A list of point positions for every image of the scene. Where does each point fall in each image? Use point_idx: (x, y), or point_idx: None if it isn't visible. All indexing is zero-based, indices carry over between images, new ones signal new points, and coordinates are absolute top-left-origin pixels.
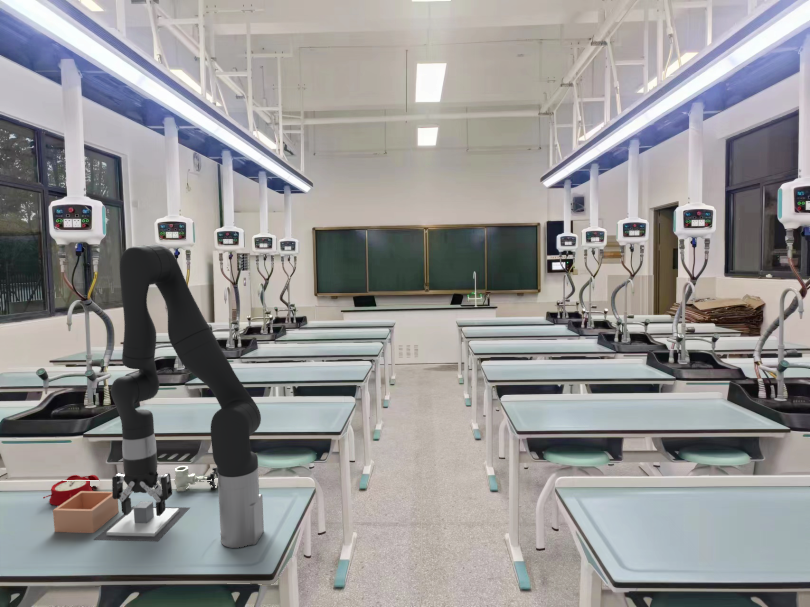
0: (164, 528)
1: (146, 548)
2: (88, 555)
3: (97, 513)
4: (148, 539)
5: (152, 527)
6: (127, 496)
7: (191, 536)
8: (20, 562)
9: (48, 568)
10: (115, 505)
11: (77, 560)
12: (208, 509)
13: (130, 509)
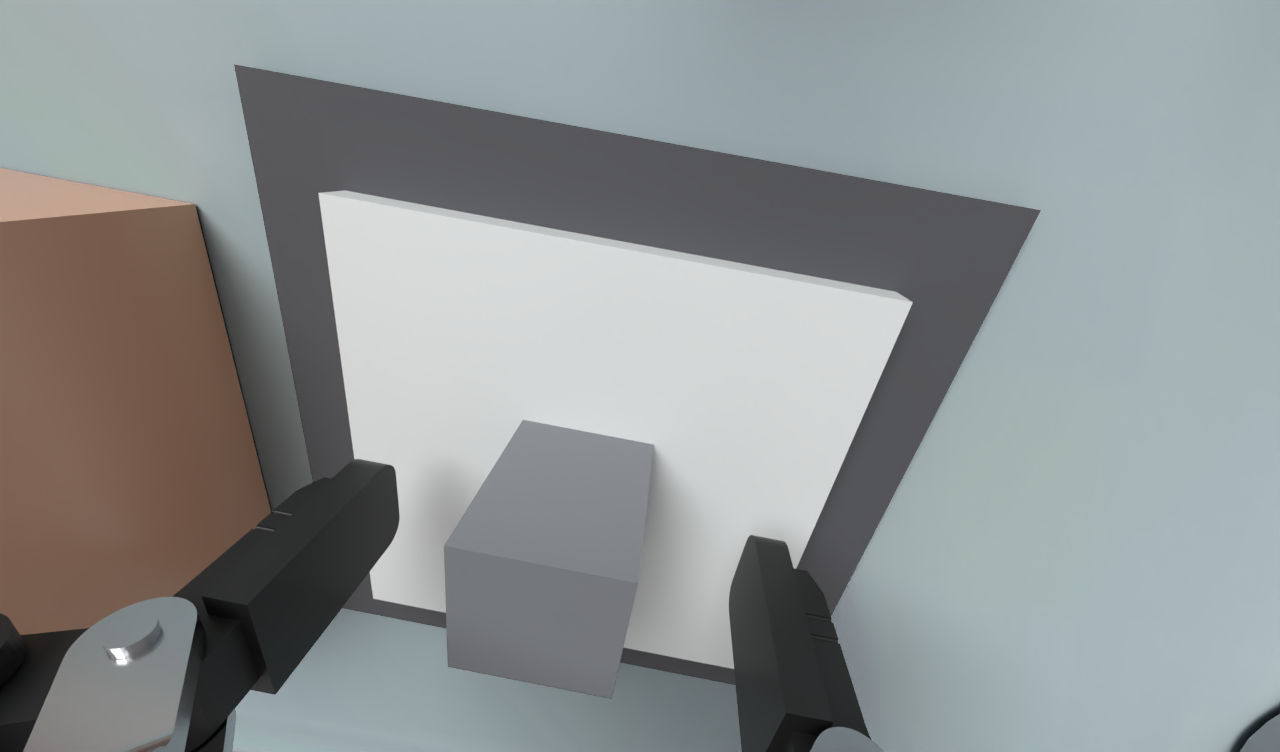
0: None
1: (727, 710)
2: (423, 699)
3: (103, 601)
4: (716, 670)
5: (708, 605)
6: (197, 704)
7: (1018, 664)
8: None
9: (308, 739)
10: (69, 276)
11: (397, 720)
12: (1274, 252)
13: (373, 491)
